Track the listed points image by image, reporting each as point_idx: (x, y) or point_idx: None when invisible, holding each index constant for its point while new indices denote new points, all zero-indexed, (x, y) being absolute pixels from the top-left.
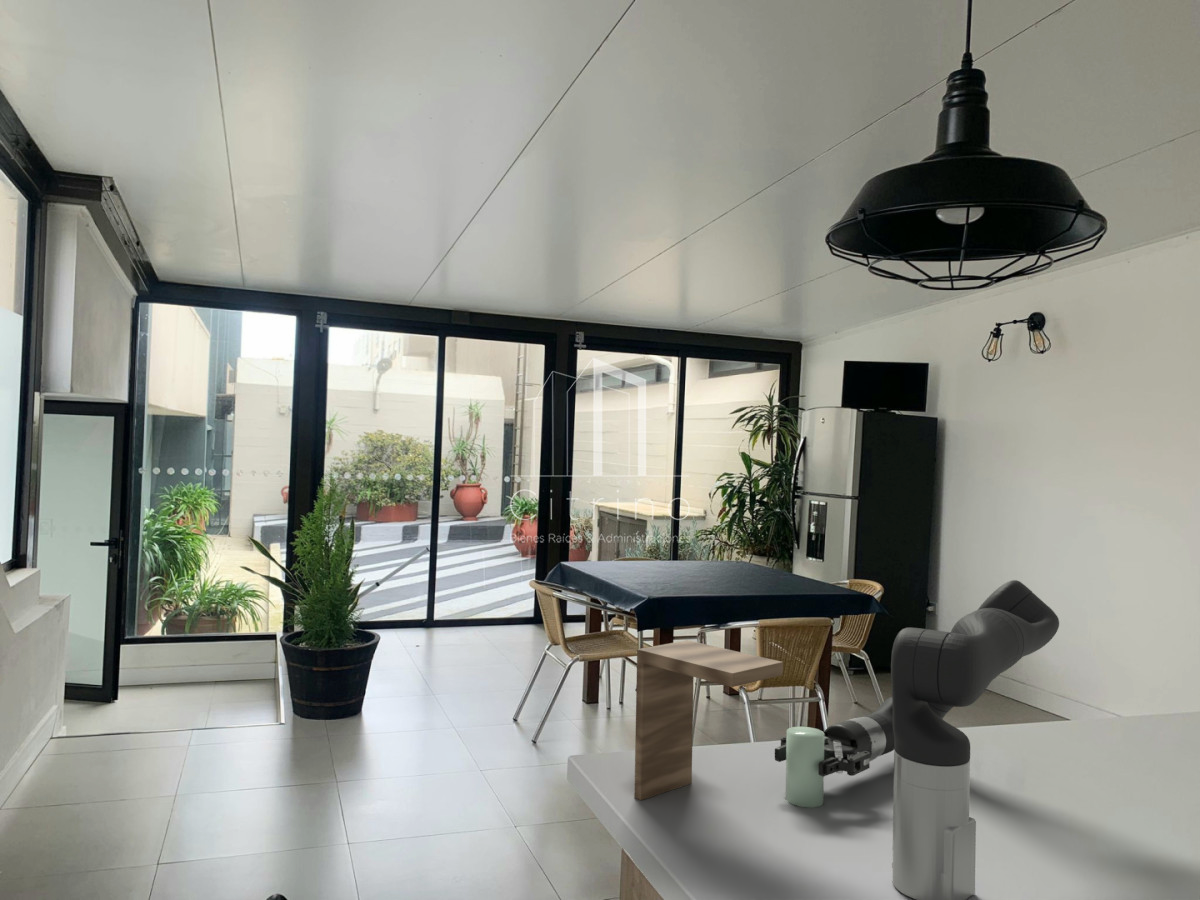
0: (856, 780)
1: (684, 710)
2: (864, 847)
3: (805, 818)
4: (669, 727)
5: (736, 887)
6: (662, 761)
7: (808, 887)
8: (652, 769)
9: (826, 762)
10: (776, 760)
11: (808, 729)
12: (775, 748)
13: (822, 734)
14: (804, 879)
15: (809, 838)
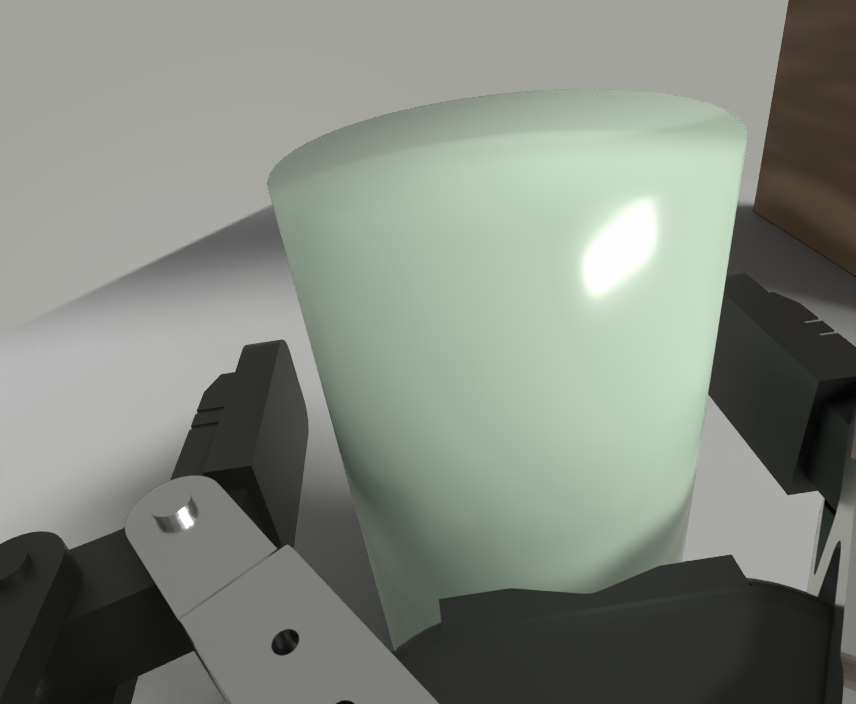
0: None
1: None
2: (9, 486)
3: (342, 475)
4: None
5: (245, 222)
6: (837, 128)
7: (118, 283)
8: (798, 134)
9: (239, 376)
10: None
11: (574, 170)
12: (782, 297)
13: (303, 196)
14: (139, 291)
15: None
